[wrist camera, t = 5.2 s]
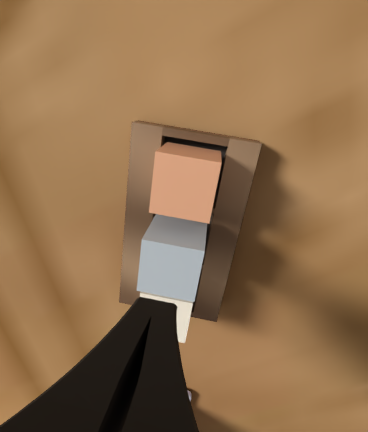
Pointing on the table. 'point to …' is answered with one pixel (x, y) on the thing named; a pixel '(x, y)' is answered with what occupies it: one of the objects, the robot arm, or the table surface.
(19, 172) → the table surface
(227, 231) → the brown flat frame
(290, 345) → the table surface
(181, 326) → the cream cube
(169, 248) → the key slate
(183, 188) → the key terracotta
